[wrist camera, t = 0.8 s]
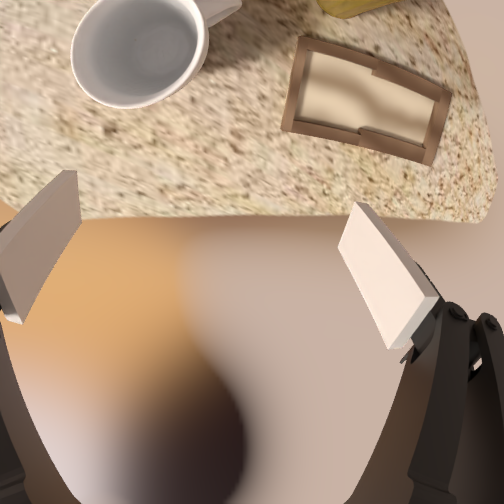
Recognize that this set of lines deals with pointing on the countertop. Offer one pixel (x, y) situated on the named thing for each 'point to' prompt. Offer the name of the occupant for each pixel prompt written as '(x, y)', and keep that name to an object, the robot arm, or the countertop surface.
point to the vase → (351, 6)
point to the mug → (143, 48)
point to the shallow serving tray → (363, 102)
